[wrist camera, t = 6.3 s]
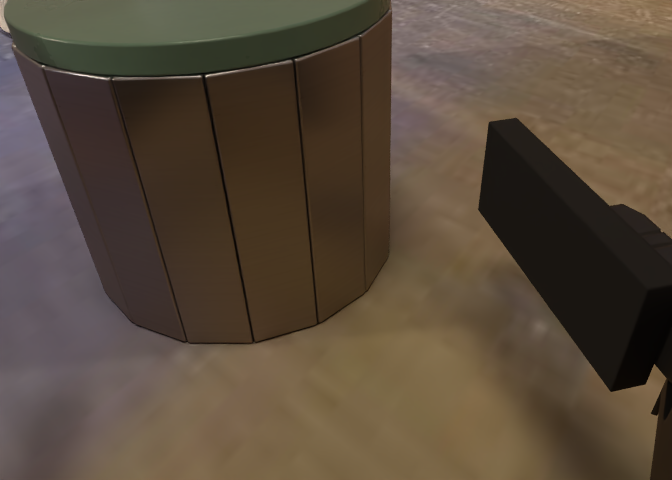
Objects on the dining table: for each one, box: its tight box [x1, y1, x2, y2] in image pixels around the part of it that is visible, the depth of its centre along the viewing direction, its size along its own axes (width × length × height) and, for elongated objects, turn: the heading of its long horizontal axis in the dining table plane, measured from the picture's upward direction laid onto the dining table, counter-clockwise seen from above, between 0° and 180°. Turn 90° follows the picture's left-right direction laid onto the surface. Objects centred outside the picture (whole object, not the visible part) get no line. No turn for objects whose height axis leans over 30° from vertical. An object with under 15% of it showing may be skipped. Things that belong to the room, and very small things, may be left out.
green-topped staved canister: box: [4, 0, 392, 343], centre depth 21 cm, size 11×11×10 cm
